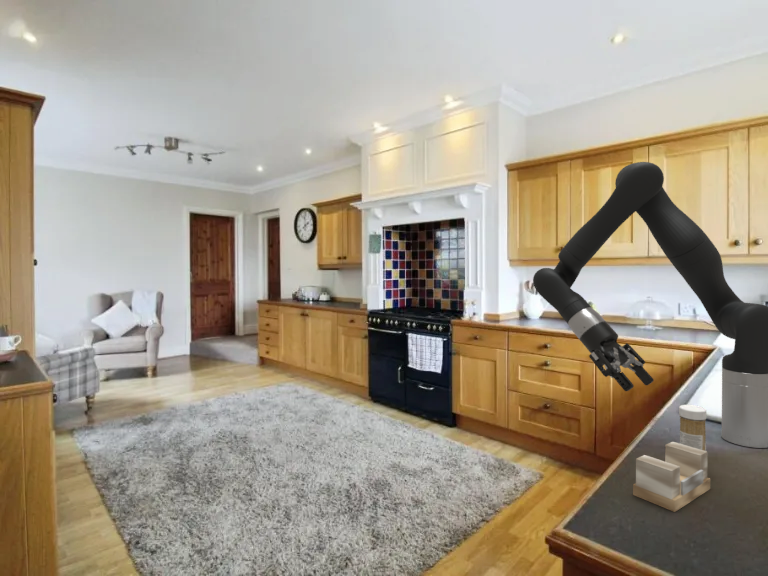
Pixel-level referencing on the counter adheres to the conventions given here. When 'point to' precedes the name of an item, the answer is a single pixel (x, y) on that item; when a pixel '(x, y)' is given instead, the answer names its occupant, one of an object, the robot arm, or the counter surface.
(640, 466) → the napkin holder
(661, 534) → the counter surface
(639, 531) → the counter surface
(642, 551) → the counter surface
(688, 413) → the sprinkles bottle
